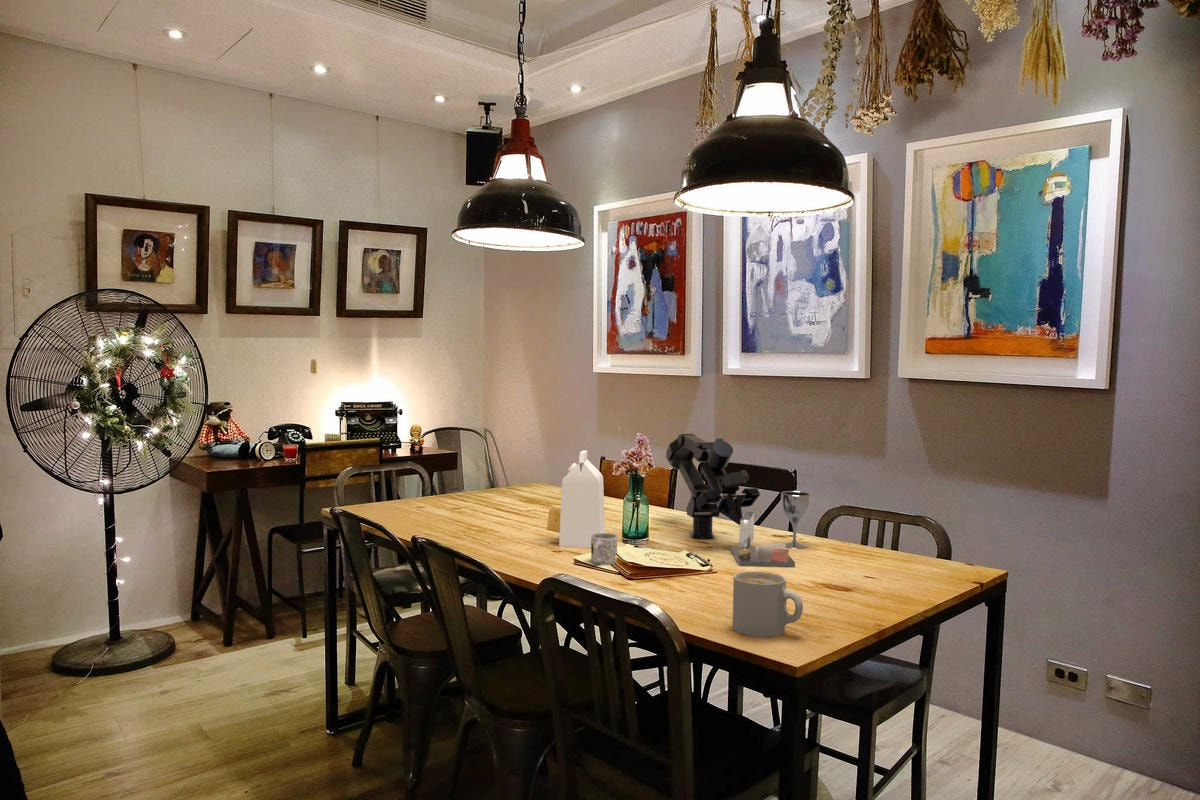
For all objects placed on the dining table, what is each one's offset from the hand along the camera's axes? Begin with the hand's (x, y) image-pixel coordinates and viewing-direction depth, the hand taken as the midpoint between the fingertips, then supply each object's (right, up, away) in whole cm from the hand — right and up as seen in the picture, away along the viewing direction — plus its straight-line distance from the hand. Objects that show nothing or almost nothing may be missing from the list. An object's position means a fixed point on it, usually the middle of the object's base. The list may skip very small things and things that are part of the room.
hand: (740, 524), depth 223 cm
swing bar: (+1, -4, -6) cm, 7 cm away
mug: (-38, -8, -14) cm, 41 cm away
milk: (-43, -7, +9) cm, 45 cm away
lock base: (+4, -8, -7) cm, 11 cm away
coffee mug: (-6, -11, -65) cm, 67 cm away
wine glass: (+17, -8, +9) cm, 20 cm away
